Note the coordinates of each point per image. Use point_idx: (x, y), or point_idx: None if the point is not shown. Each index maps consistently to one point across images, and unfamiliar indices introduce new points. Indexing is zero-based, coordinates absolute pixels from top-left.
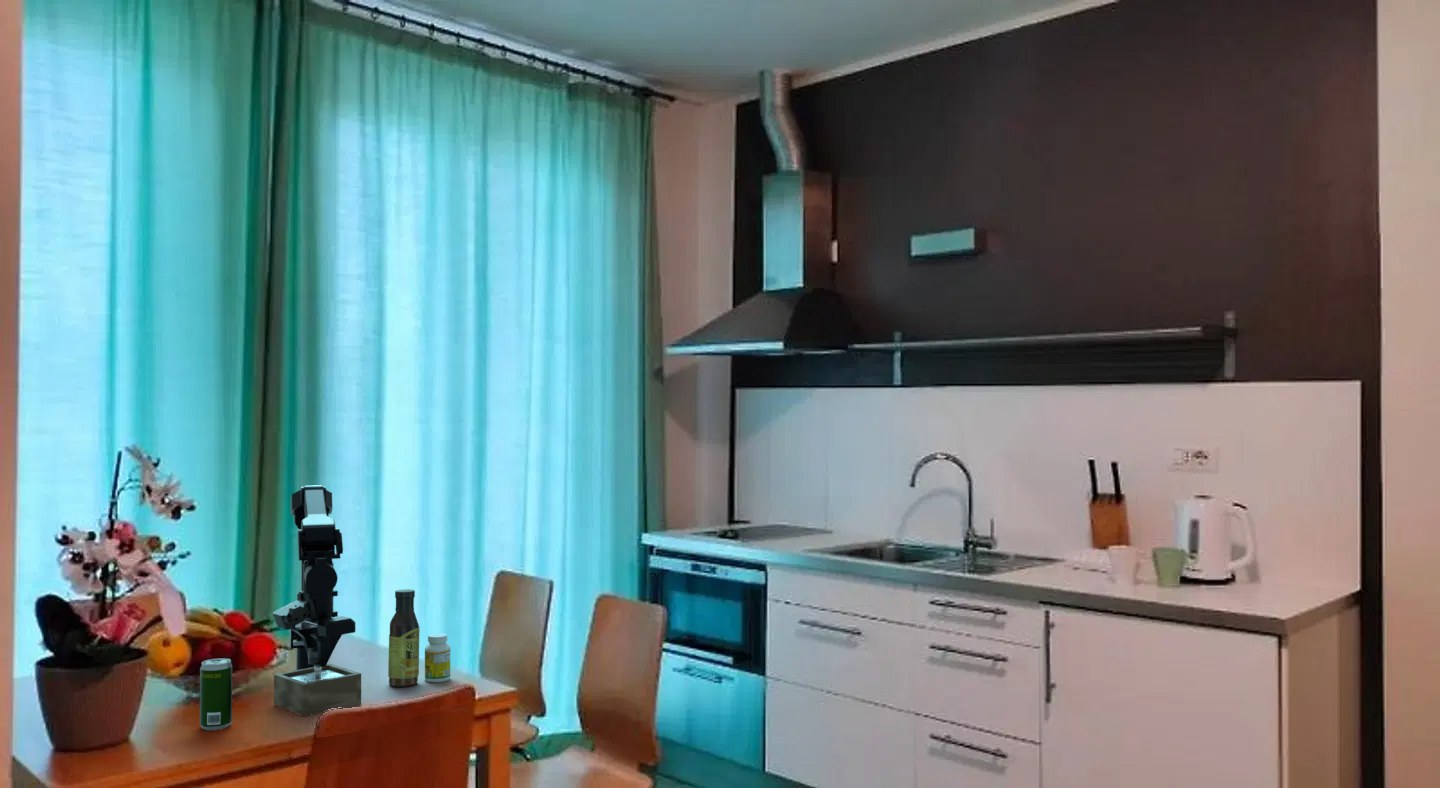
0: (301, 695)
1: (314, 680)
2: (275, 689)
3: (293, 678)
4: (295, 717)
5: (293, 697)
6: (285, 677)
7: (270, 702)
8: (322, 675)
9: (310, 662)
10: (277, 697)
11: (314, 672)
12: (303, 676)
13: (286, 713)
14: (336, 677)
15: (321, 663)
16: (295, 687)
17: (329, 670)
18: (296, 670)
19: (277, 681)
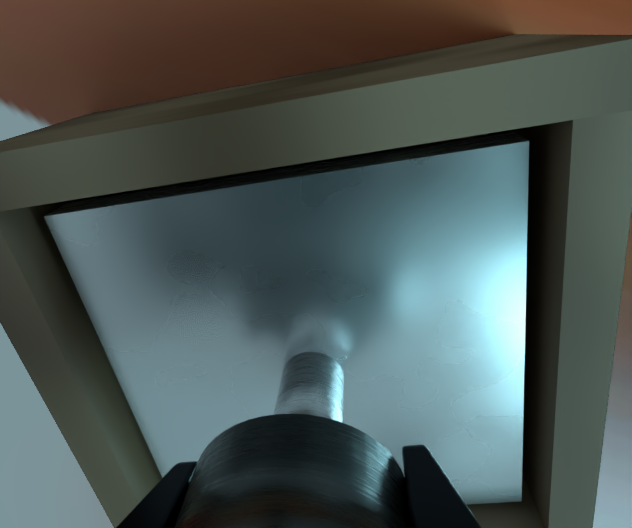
0: (39, 134)
1: (223, 326)
2: (539, 40)
3: (433, 210)
4: (97, 62)
5: (191, 103)
6: (376, 109)
7: (612, 33)
8: (360, 421)
9: (252, 436)
10: (477, 46)
11: (303, 386)
12: (437, 305)
13: (229, 40)
14: (101, 452)
15: (148, 495)
16: (119, 125)
17: (480, 499)
18: (608, 309)
19: (522, 50)
